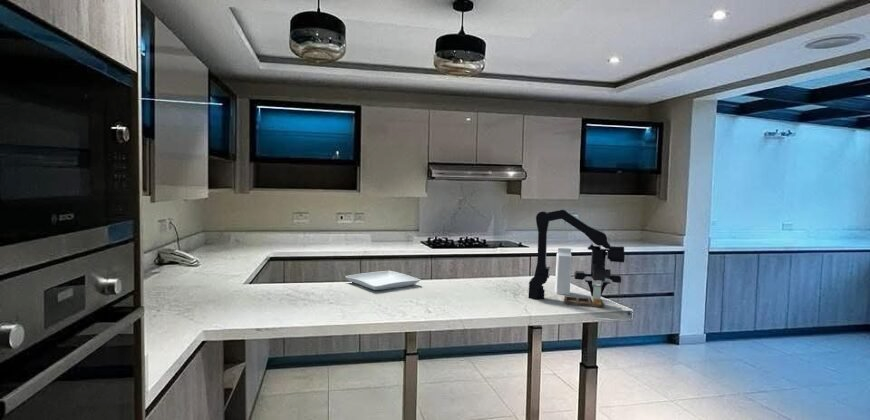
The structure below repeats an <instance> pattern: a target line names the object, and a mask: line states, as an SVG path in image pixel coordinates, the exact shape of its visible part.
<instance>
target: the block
mask: <svg viewBox="0 0 870 420" xmlns="http://www.w3.org/2000/svg"><path fill="white" fill-rule="evenodd" d="M592 287H593V296H591V298H590V299H591V300H592V302H593V299H598V300H600V299H601V298H602V295H601V283H592ZM601 300H602V299H601Z"/></svg>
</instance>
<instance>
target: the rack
mask: <svg viewBox="0 0 870 420" xmlns="http://www.w3.org/2000/svg"><path fill="white" fill-rule="evenodd" d="M591 299H592V298H591V297H590V298H589V297H577V296H568V295H567V296H566V295H564V297H563V303H564V306H575V307H585V308H598V309H606V307H605V303H604V302H603V299H600V300H598V299H593V302H592V300H591Z"/></svg>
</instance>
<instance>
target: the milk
mask: <svg viewBox="0 0 870 420" xmlns="http://www.w3.org/2000/svg"><path fill="white" fill-rule="evenodd" d="M571 251H572V249H571V248H567V247H566V248H564V247H558V248H557V252H556V258H555V259H556V260H555V278H554V279H555V280H554V293H555V294H556V295H564V296H566V295H567V296H568V295H569V296H570V294H571V293H570V292H571V279H572V278H571V276H572V275H571V274H572V259H573V256H572V252H571Z"/></svg>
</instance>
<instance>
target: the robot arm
mask: <svg viewBox="0 0 870 420" xmlns="http://www.w3.org/2000/svg"><path fill="white" fill-rule="evenodd" d="M556 220H563V221H565V222H566V223H568V224H569V225H571V226H572V227H574V228H575V229H576V230H578V231H579V232H581V233H583V234H584V235H585V236H586V237H588V239H589V240H590V241H591V242H593V243H594V244H593V243H590V245H589V246H587V250H589V251H591V258H590V259H591V261H590V273H585V271H584V270H583V271H582V270H575V271H574V275H573V277H574V279H575V280H581V281H583V280H584V282H585V283H587V285H588V287H589V291H590V297H592V296H593V287H592V284H593V281H595V282H596V281H601V282H600V286H601V296H602V295H603V293H604V290H605V288H606V287H607V285H608V284H609V285H610V284H611V282H612V283H619V284H620V283H622V277H621V275H619V273H611V272H612V271H611V269H607V268H606V259H607V260H609V262H612V263H620V264H621V263H622V264H623V263H625V257H626V256H625V247H624V246H623V245H622V246H616V245H614V246H613V245H611V244H610V243H609V241H608V236H607V234H606V233H605V232H604V231H602V230H600V229H598V228H594V227H592V226H590V225H588V224H586V223H585V222H583V221H582V220H581V219H579V218H577V217H576V216H574V215H573V214H571V213H569V212H568V211H567V210H566V209H563V208H561V209H559V210H553V211H545V210H541V211H540V212H538V213H537V214H536V216H535V221H536V227H537V232H538V233H537V234H538V237H537V261H536V262H537V263H536V268H535V271H534V276H532V277H531V279H530V280H529V282H528V299H531V300H538V301H539V300H545V290H546V289H545V288H544V284H546V283H547V282H548V279H550V275H551V274H550V268H551V266H547V265H548V264H547V245H548V244H547V242H548V230H549V226H550V222H551V221H556ZM601 246H602V247H601ZM606 253H607V254H606ZM606 257H607V258H606Z"/></svg>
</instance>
